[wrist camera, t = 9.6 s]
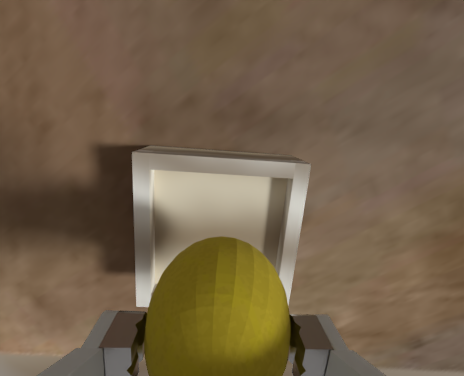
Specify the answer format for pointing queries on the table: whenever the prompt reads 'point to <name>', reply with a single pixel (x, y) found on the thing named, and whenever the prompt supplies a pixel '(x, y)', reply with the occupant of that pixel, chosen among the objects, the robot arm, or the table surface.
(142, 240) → the base
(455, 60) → the table surface
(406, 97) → the table surface
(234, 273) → the lemon
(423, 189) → the table surface
